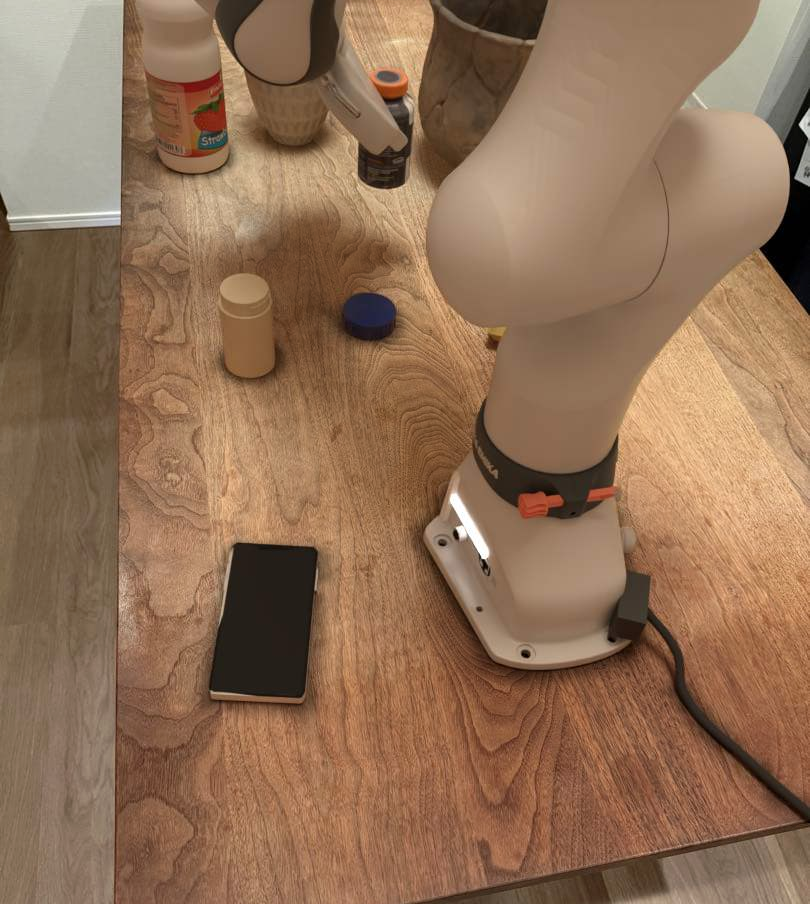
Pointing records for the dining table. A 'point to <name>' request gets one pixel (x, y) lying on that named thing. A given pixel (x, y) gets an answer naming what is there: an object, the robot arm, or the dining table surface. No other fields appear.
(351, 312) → the lid
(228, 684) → the smartphone
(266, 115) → the vase
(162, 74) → the fruit juice
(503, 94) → the pot
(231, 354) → the jar
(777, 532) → the dining table surface
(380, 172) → the pill bottle
